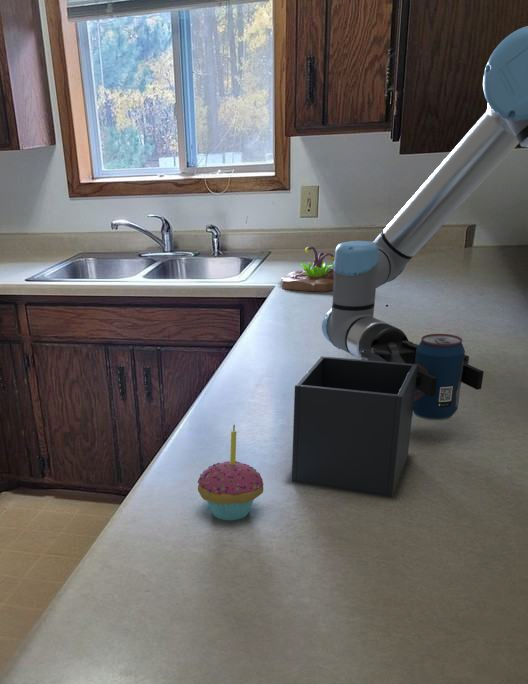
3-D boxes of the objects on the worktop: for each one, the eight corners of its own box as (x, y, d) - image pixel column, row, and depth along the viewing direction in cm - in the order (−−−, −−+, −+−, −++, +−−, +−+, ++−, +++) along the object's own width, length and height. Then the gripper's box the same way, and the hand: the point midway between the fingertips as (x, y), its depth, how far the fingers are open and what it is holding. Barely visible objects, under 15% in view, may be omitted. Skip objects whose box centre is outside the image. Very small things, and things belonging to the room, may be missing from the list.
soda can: (403, 408, 118) (410, 334, 113) (445, 404, 118) (454, 331, 113) (420, 423, 112) (428, 346, 107) (464, 420, 112) (475, 343, 107)
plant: (290, 277, 234) (291, 240, 229) (352, 279, 228) (354, 241, 223) (274, 290, 218) (275, 251, 213) (341, 293, 211) (344, 252, 206)
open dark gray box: (407, 459, 111) (417, 364, 104) (391, 500, 99) (402, 396, 93) (315, 447, 116) (320, 356, 109) (291, 484, 105) (294, 385, 98)
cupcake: (207, 496, 103) (205, 416, 97) (268, 502, 100) (269, 420, 95) (191, 526, 95) (188, 441, 90) (256, 534, 93) (257, 446, 88)
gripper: (426, 358, 132) (512, 399, 112) (324, 372, 128) (394, 417, 107) (431, 316, 128) (520, 350, 108) (326, 329, 124) (398, 367, 104)
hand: (457, 383), depth 108 cm, fingers closed on soda can, 7 cm apart
